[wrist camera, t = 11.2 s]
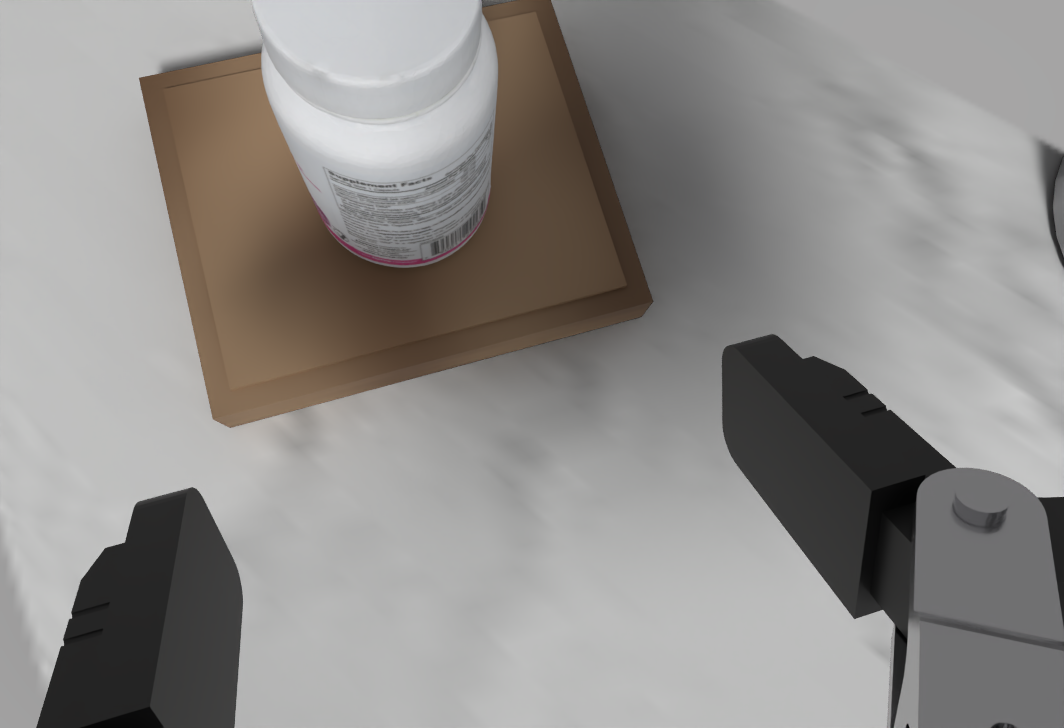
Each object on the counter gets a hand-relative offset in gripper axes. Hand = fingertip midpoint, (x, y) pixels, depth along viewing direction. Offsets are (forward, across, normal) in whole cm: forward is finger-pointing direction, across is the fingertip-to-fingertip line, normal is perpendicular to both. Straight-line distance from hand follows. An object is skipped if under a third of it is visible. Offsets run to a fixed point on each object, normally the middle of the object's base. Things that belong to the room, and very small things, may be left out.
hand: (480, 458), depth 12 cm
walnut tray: (+13, 0, +1) cm, 13 cm away
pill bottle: (+12, 0, 0) cm, 12 cm away
